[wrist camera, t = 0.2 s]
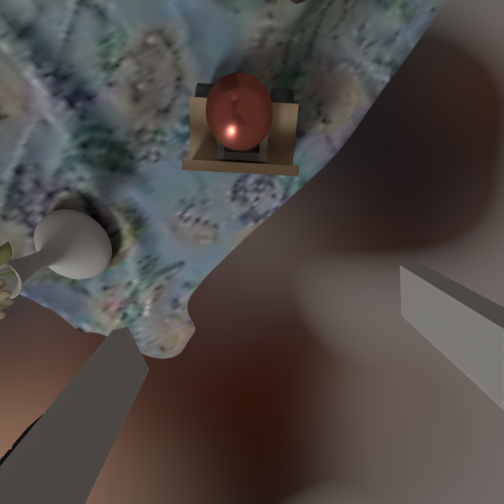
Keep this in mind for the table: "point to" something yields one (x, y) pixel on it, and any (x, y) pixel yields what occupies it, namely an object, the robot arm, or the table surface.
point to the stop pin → (239, 111)
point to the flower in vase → (57, 252)
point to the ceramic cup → (297, 1)
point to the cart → (250, 161)
